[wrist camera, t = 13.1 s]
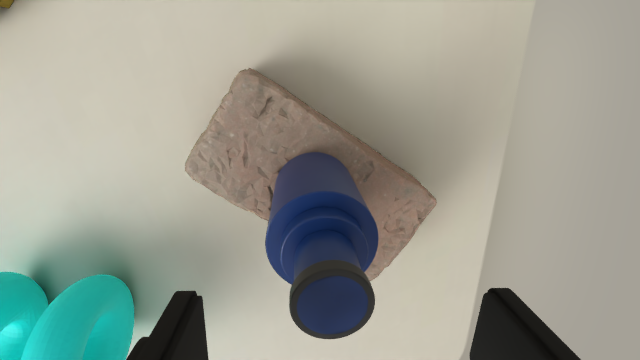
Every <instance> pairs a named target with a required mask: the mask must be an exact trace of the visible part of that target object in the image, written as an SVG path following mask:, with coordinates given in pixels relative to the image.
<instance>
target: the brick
mask: <svg viewBox="0 0 640 360" xmlns="http://www.w3.org/2000/svg"><path fill="white" fill-rule="evenodd" d="M309 152H320V153H325V154H328V155H331V156H333V157H335V158H336V159H338V160H339V161H340V162H341V163H343V164H344V166H345V167H346V168H347V170H348V171H349V173H350V175H351V177H352V179H353V181H354V182H355V184H356V186H357V188H358V190H359V192H360V194H361V195H362V197H363V199H364V201H365V203H366V205H367V207H368V209H369V210H370V212H371V214H372V216H373V218H374V220H375V222H376V225H377V229H378V236H379V240H378V248H377V252H376V255H375V257H374V259H373V261H372V263H371V265H370V266H369V268H368V269H367V270H366V271H365V272H364V273H365V274H366V275H367V277H368V279H369V281H371V280H373V279H375V278H376V277H377V276H378V275H379V274H380V273H381V272H382V271H383V269H384V268H385V267H388V266H389V265H390V263H391V262H392V261H393V259H394V258H395V257H396V256H397V255H398V254H399V252H400V251H401V250H402V249H403V248H404V247H405V246H406V245H407V243H408V242H409V241H410V239H411V238H412V237H413V235H414V233H415V232H416V230H417V229H418V227H419V226H420V224H421V223H422V222H423V220H424V219H425V218H426V216H427V215H428V214H429V213H430V212H431V210H432V209H433V208H434V207H435V206H436V203H437V202H436V199H435V198H434V197H433V196H432V194H431V193H429V192H428V190H427V189H426V188H424V187H423V186H422V185H421V183H420V182H419V181H418V180H417V179H416V178H414V177H413V176H412V175H410V174H409V173H407V172H405V171H404V170H403V169H401V168H399V167H398V166H396V165H395V164H393V163H391V162H390V161H388V160H387V159H385V158H384V157H383V156H382V155H381V154H380V153H378V152H376V151H374V150H373V149H372V148H371V147H369V146H368V145H366V144H364V143H363V142H362V141H360V140H359V139H358V138H356V137H354V136H352V135H351V134H350V133H348V132H347V131H345V130H343V129H342V128H341V127H339V126H338V125H336V124H335V123H333V122H332V121H330V120H329V119H327V118H326V117H325V116H323V115H322V114H320V113H319V112H317V111H315V110H314V109H312V108H310V107H309V106H308V105H306V104H305V103H304V102H302V101H301V100H299V99H298V98H296V97H295V96H293V95H292V94H291V93H289V92H288V91H287V90H285V89H284V88H283V87H281V86H280V85H278V84H276V83H275V82H273V81H271V80H270V79H268V78H266V77H265V76H263V75H262V74H260V73H258V72H257V71H256V70H253V69H251V68H249V69H248V70H246V69H245V70H242V71H240V72H239V73H238V75H237V76H236V77H235V79H234V81H233V82H232V85H231V87H230V91H229V93H228V94H227V95H225V97H224V98H223V99H222V102H221V105H220V107H219V108H218V109H217V111H216V112H215V114H214V115H213V117H212V119H211V121H210V123H209V125H208V127H207V129H206V130H205V131H204V133H202V135H201V136H200V138H199V139H198V141H197V142H196V144H195V146H194V147H193V149H192V150H191V152H190V155H189V156H188V159H187V161H186V163H185V171H186V172H187V173H188V174H189V175H190V176H191V178H192V179H193V180H195V181H196V182H198V183H200V184H202V185H203V186H205V187H207V188H208V189H210V190H211V191H212V192H214V193H215V194H217V195H219V196H221V197H223V198H224V199H225V200H227V201H229V202H230V203H232V204H234V205H236V206H238V207H240V208H242V209H244V210H247V211H250V212H253V213H255V214H256V215H258V216H259V217H261V218H262V219H265V220H268V221H269V216H270V210H271V205H272V199H273V194H274V188H275V183H276V179H277V176H278V174H279V172H280V170H281V169H282V168H283V166H284V165H285V164H286V163H287V162H288V161H290V160H291V159H293V158H294V157H296V156H298V155H301V154H304V153H309Z"/></svg>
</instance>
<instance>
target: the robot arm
mask: <svg viewBox="0 0 640 360" xmlns="http://www.w3.org/2000/svg"><path fill="white" fill-rule="evenodd" d="M126 360H208V351H207V340H206V330H205V320H204V309H203V299H202V296H197V293H196V291H176V292H175V293H174V295H173V297H172V298H171V300H170V302H169V304H168V305H167V307H166V309H165V310H164V312H163V314H162V316H161V317H160V319H159V321H158V322H157V324H156V326H155V328H154V329H153V331H152V333H151V334H150V336H149V337H142V338H141V339H139V341H138V342H137V343H136V345H135V346H134V348H133V350H132V351H131V353H130V355H129V356H128V358H127V359H126ZM470 360H580V358H579V357H578V356H577V355H576V354H575V353H574V352H573V351H572V350H571V349H570V348H569V347H568V346H567V345H566V344H565V343H564V342H562V340H561V339H560V338H559V337H558V336H557V335H556V334H555V333H554V332H553V331H552V330H551V329H550V328H549V327H548V326H546V324H545V323H544V322H542V320H541V319H540V318H539V317H538V316H537V315H536V314H535V313H534V312H533V311H532V310H531V309H530V308H529V307H528V306H527V305H526V304H525V303H524V302H523V301H522V300H521V299H520V298H519V297H518V296H517V295H516V294H515V293H514V292H513V291H512V290H510V289H509V288H491V289H489V290H488V292H487V293H485V294H484V296H483V299H482V304H481V308H480V312H479V316H478V321H477V325H476V330H475V334H474V338H473V342H472V346H471V351H470Z"/></svg>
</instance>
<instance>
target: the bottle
mask: <svg viewBox="0 0 640 360" xmlns="http://www.w3.org/2000/svg"><path fill="white" fill-rule="evenodd" d="M378 240H379V236H378V229H377V225H376V222H375V220H374V218H373V216H372V214H371V212H370V210H369V209H368V207H367V205H366V203H365V201H364V199H363V197H362V195H361V194H360V192H359V190H358V188H357V186H356V184H355V182H354V181H353V179H352V177H351V175H350V173H349V171H348V170H347V168H346V167H345V166H344V164H343V163H341V162H340V161H339V160H338V159H336V158H335V157H333V156H331V155H328V154H325V153H320V152H309V153H304V154H301V155H298V156H296V157H294V158H293V159H291V160H290V161H288V162H287V163H286V164H285V165H284V166H283V168H282V169H281V170H280V172H279V174H278V176H277V179H276V183H275V188H274V194H273V199H272V205H271V210H270V216H269V222H268V227H267V233H266V241H265V246H266V253H267V257H268V259H269V261H270V264H271V265H272V267H273V269H274V270H275V271H276V272H277V274H278V275H279V276H281V277H282V278H283V279H284V280H285V281H287V282H288V283H290V284H292V287H291V290H290V304H289V307H290V313H291V316H292V319H293V321H294V322H295V324H296V325H297V326H298V327H299V328H300V329H301V330H302V331H304V332H305V333H307V334H309V335H311V336H313V337H317V338H322V339H337V338H342V337H345V336H348V335H350V334H352V333H354V332H356V331H358V330H359V329H360V328H362V327H363V326H364V325H365V324H366V323H367V321H368V320H369V318H370V317H371V315H372V313H373V310H374V305H375V296H374V292H373V289H372V286H371V283H370V281H369V279H368V277H367V275H366V274H365V273H364V272H365V271H366V270H367V269H368V268H369V266H370V265H371V263H372V261H373V259H374V257H375V255H376V252H377V248H378Z"/></svg>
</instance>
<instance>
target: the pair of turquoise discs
mask: <svg viewBox="0 0 640 360" xmlns="http://www.w3.org/2000/svg"><path fill="white" fill-rule="evenodd" d="M133 327H134V303H133V298H132V295H131V292H130V290H129V288H128V287H127V285H126V284H125V283H124V282H123V281H122V280H120V279H119V278H117V277H114V276H111V275H104V274H99V275H93V276H89V277H86V278H84V279H81V280H79V281H77V282H75V283H74V284H72V285H71V286H69V287H68V288H66V289H65V290H64V291H63V292H61V293H60V294H59V295H58V296H57V297H56V298H55V299H54V300H53V301H52V303H51V304H50V305H49V304H48V300H47V297H46V295H45V293H44V291H43V289H42V288H41V287H40V286H39V285H38V284H37V283H36V282H35V281H34V280H33V279H31V278H29V277H27V276H25V275H22V274H19V273H14V272H0V360H126V357H127V354H128V351H129V348H130V344H131V339H132V334H133Z"/></svg>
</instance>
